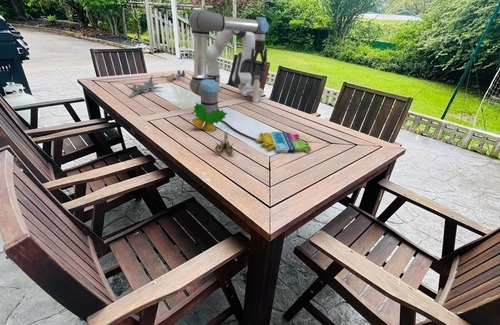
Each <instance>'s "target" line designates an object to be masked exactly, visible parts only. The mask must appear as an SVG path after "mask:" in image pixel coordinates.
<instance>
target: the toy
mask: <svg viewBox="0 0 500 325" xmlns="http://www.w3.org/2000/svg"><path fill="white" fill-rule="evenodd" d="M185 76H186V73H185V70H182V72H181V70H180V69H178V70H177V74H176V73H171V74H169V75H168V76H163V75H160V78H161V79H162V78H163V79H164V78H165V79H166V81H169V82H171V81H173V80H180V81H185V78H184V77H185ZM180 77H181V78H180Z"/></svg>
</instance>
